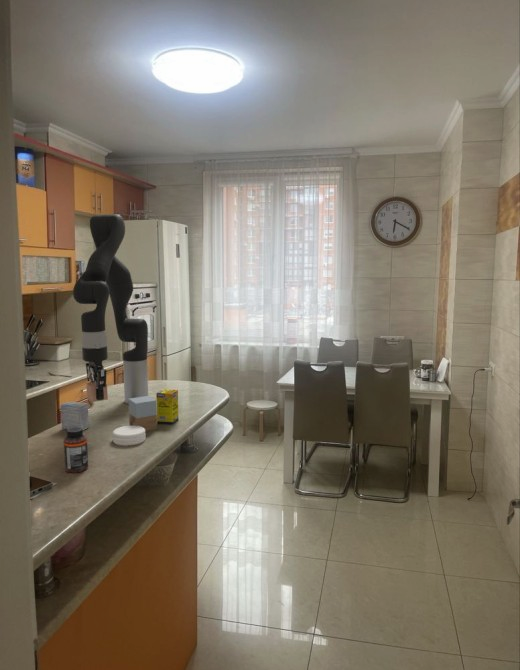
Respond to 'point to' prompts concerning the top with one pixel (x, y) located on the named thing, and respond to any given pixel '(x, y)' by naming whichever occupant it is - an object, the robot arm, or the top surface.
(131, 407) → the tower top block
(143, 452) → the top surface
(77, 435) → the supplement bottle
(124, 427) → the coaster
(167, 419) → the supplement box
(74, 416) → the medicine box
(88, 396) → the cube
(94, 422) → the top surface
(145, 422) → the tower base block
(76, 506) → the top surface
